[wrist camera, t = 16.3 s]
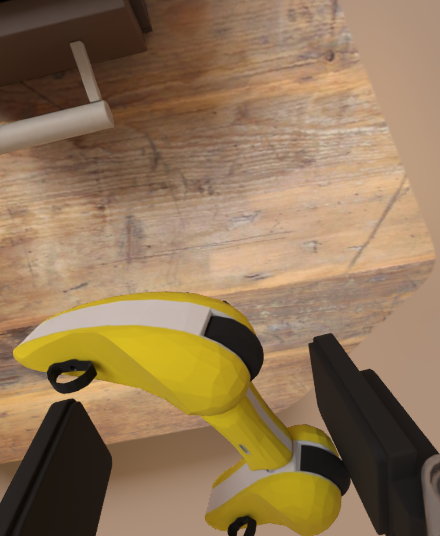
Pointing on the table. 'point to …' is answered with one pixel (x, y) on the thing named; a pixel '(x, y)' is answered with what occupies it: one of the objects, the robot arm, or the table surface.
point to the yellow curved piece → (201, 398)
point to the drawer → (62, 59)
